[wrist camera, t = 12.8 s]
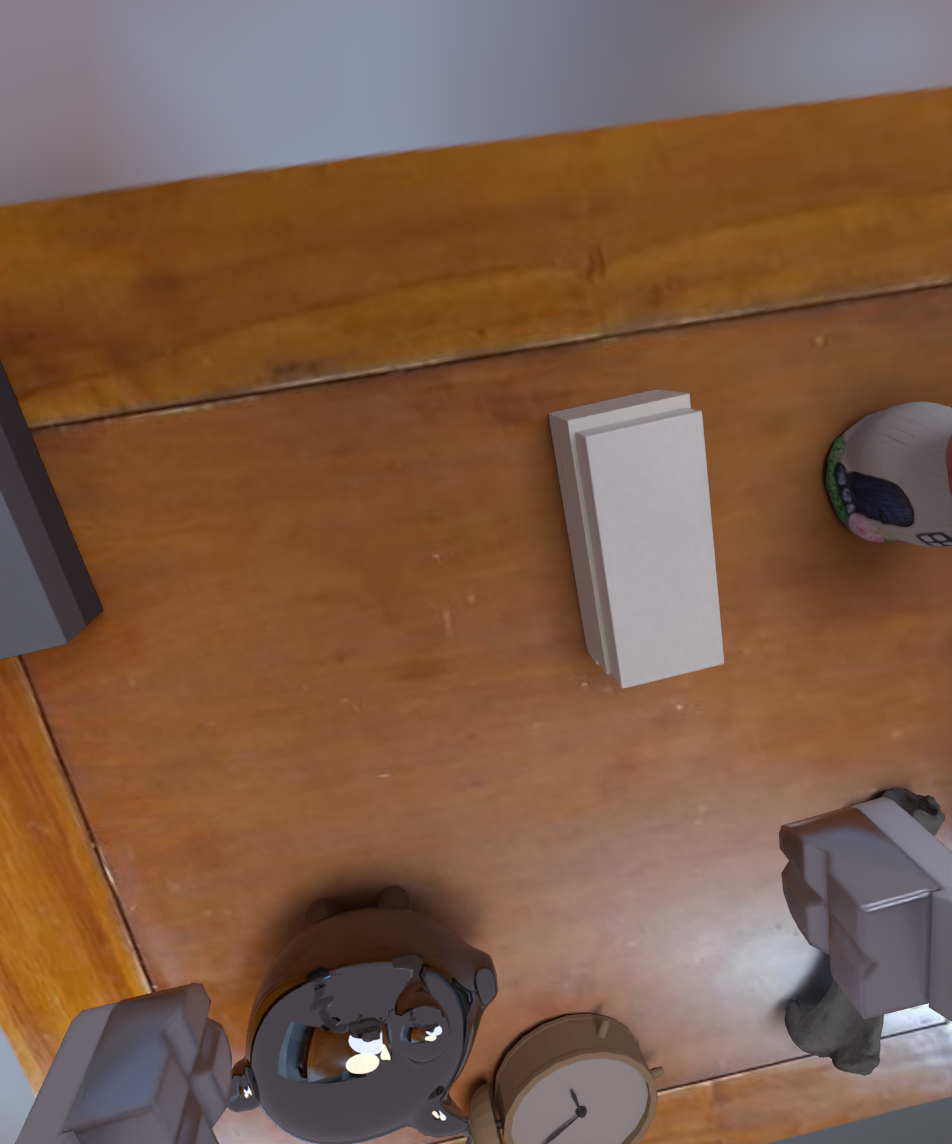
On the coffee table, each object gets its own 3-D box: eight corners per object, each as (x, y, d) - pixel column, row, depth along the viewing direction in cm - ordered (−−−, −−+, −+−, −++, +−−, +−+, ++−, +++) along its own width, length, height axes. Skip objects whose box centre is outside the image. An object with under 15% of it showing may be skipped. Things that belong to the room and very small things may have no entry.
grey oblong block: (547, 413, 36) (567, 420, 32) (657, 388, 36) (689, 393, 32) (586, 650, 40) (607, 681, 37) (684, 627, 41) (714, 655, 37)
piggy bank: (494, 969, 47) (528, 1155, 36) (274, 1018, 46) (241, 1225, 35) (472, 837, 44) (501, 999, 33) (232, 886, 42) (181, 1071, 31)
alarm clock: (690, 1100, 49) (537, 1256, 48) (655, 1043, 54) (515, 1184, 53) (600, 1021, 46) (434, 1187, 45) (571, 967, 50) (420, 1116, 49)
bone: (842, 1020, 53) (899, 1100, 48) (765, 1025, 52) (814, 1108, 46) (926, 774, 47) (1003, 833, 41) (840, 774, 46) (907, 835, 40)
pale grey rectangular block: (574, 431, 32) (585, 436, 31) (686, 407, 33) (702, 410, 31) (610, 674, 37) (621, 689, 35) (709, 650, 37) (724, 664, 35)
